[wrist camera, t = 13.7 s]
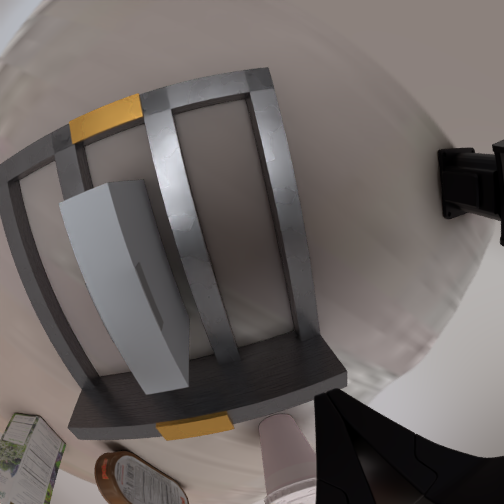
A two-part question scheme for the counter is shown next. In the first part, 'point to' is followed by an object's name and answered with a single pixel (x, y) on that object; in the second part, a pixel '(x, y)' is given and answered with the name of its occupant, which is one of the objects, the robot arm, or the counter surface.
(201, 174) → the counter surface
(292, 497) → the smoothie
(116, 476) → the tin
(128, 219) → the panel
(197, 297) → the rack
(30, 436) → the syrup box
